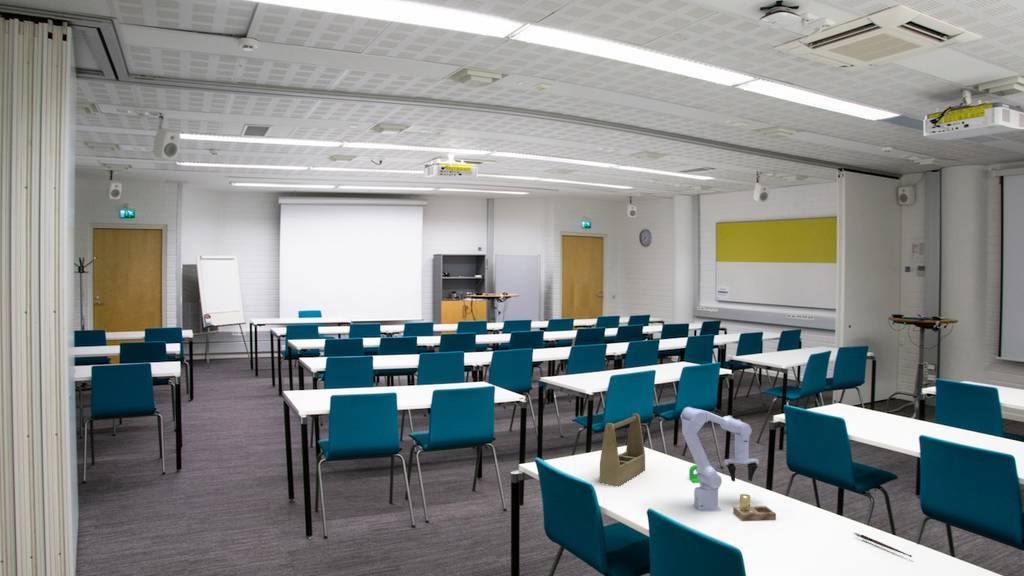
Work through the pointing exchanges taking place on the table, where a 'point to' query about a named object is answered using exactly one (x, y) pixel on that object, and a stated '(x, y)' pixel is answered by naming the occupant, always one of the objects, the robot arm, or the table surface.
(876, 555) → the table surface
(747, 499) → the cylinder
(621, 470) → the caddy
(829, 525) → the table surface
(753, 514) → the pocket board
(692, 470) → the mechanical part
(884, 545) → the pen
